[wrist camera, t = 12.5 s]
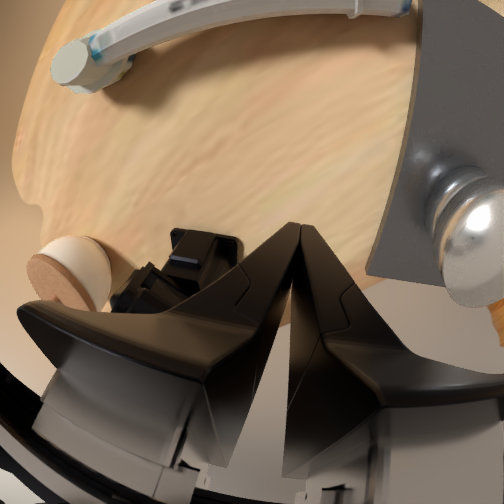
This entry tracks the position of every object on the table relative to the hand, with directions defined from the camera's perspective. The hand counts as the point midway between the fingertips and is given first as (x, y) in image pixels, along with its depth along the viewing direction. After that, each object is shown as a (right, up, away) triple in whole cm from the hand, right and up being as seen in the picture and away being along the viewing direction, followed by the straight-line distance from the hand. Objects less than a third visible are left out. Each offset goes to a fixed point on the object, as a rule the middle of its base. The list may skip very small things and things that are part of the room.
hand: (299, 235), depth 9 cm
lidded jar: (-22, -1, +22) cm, 31 cm away
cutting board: (+20, +7, +5) cm, 22 cm away
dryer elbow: (+20, +1, +5) cm, 20 cm away
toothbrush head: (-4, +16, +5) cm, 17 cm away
